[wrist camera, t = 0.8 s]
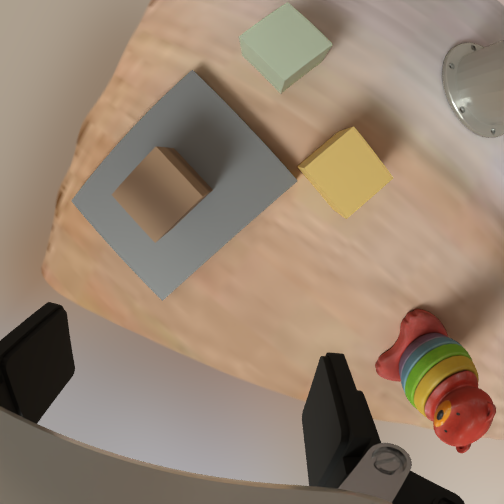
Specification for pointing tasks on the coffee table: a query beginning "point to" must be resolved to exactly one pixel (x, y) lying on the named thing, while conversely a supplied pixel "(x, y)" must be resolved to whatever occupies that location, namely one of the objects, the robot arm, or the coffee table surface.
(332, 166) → the ochre block
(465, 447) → the stacking bear
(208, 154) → the slate base board
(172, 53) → the coffee table surface
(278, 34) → the sage-green block
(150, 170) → the walnut base block
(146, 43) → the coffee table surface
